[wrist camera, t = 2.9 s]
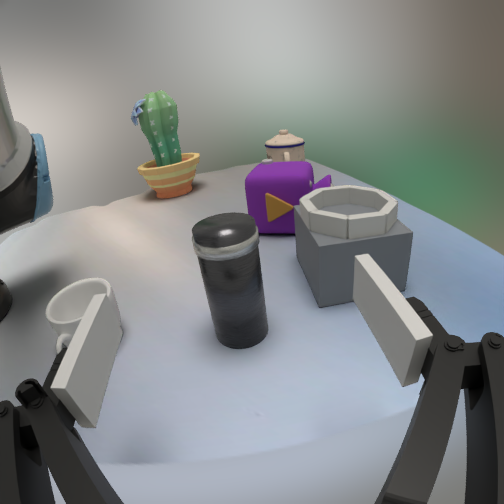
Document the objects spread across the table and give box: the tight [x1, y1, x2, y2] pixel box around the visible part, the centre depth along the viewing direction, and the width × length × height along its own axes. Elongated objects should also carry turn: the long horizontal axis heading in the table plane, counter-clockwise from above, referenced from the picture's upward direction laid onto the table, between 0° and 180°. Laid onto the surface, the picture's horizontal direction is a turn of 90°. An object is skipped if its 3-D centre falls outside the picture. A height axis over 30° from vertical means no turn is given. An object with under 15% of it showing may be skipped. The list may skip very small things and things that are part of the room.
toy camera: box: [245, 159, 334, 234], centre depth 49 cm, size 11×14×10 cm
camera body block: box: [294, 185, 413, 308], centre depth 35 cm, size 10×11×9 cm
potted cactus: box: [131, 91, 200, 198], centre depth 70 cm, size 16×15×25 cm
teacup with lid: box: [265, 130, 305, 162], centre depth 71 cm, size 12×9×12 cm
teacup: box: [46, 278, 120, 353], centre depth 29 cm, size 10×8×5 cm
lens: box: [192, 213, 268, 349], centre depth 28 cm, size 5×5×11 cm
